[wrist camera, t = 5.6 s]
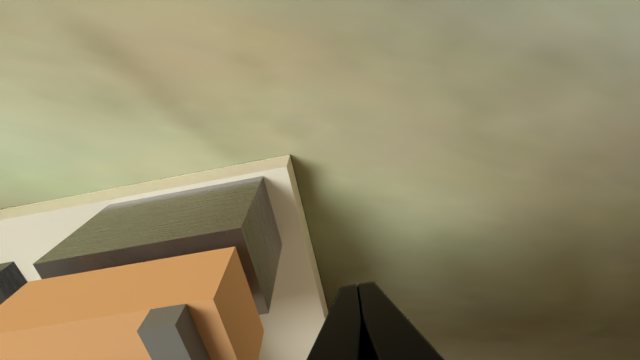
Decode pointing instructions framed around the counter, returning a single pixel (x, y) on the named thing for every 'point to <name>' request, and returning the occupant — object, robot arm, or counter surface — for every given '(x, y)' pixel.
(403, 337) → the robot arm
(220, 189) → the grey piece
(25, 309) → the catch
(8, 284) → the grey lever
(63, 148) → the counter surface
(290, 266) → the board
